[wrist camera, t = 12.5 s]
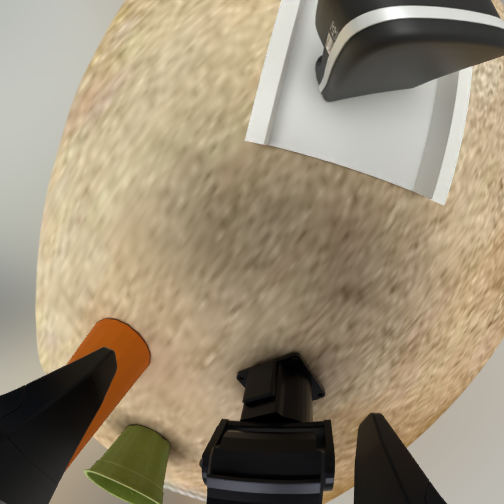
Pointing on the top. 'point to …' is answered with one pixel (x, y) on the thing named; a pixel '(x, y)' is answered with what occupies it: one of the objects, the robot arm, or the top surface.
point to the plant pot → (133, 466)
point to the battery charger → (401, 43)
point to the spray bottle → (128, 366)
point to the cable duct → (357, 114)
